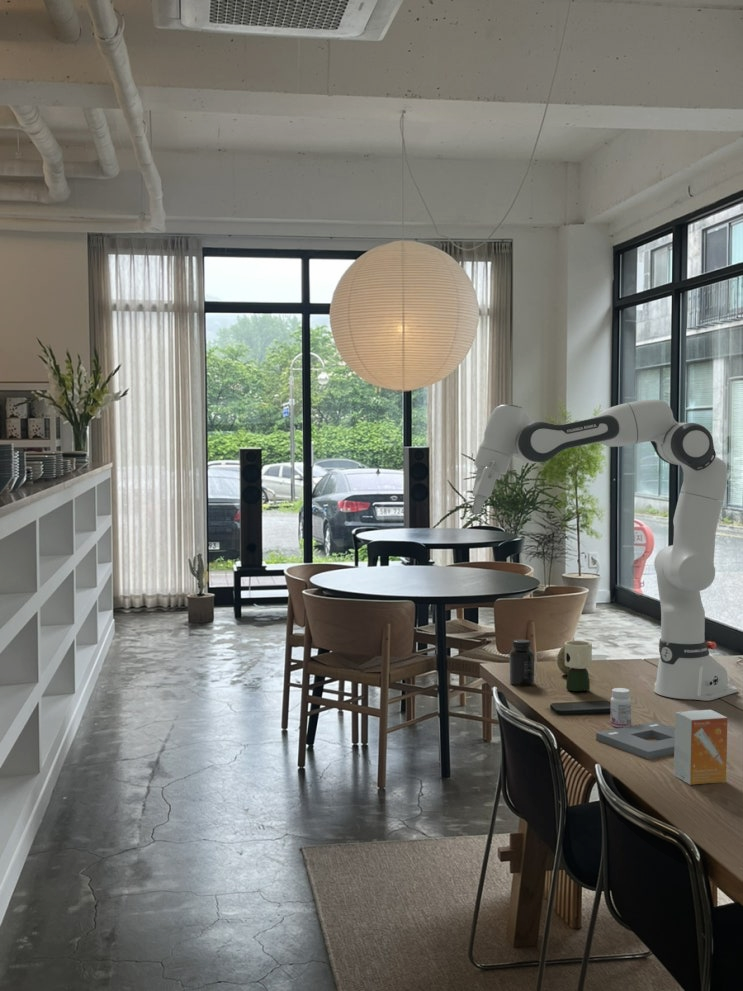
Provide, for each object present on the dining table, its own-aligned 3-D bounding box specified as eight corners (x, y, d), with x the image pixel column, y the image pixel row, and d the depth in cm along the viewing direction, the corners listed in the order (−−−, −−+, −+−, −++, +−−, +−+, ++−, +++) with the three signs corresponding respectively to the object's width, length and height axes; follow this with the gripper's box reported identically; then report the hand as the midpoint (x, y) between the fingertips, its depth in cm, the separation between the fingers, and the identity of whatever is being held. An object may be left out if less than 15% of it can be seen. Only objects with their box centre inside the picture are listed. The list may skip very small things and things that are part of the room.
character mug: (563, 685, 272) (564, 638, 271) (590, 686, 271) (590, 639, 270) (565, 695, 261) (565, 646, 261) (592, 696, 260) (593, 647, 259)
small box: (690, 786, 192) (691, 719, 191) (673, 775, 198) (673, 711, 197) (727, 782, 194) (728, 717, 193) (709, 772, 200) (710, 708, 199)
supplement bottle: (533, 680, 277) (533, 638, 277) (535, 686, 271) (535, 643, 270) (509, 680, 278) (509, 638, 277) (509, 686, 271) (510, 643, 271)
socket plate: (654, 728, 231) (654, 721, 231) (708, 746, 217) (708, 738, 217) (596, 739, 222) (596, 732, 222) (648, 759, 208) (648, 751, 208)
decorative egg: (582, 673, 287) (582, 638, 286) (582, 678, 280) (582, 643, 279) (557, 671, 288) (557, 637, 288) (556, 677, 281) (556, 642, 281)
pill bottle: (607, 722, 236) (607, 687, 235) (627, 722, 236) (627, 687, 236) (614, 728, 231) (614, 692, 231) (633, 727, 231) (634, 692, 231)
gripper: (507, 464, 248) (489, 516, 247) (499, 469, 268) (483, 518, 268) (483, 456, 248) (465, 508, 248) (477, 462, 269) (461, 510, 268)
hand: (475, 513), depth 258 cm, fingers open, 8 cm apart
